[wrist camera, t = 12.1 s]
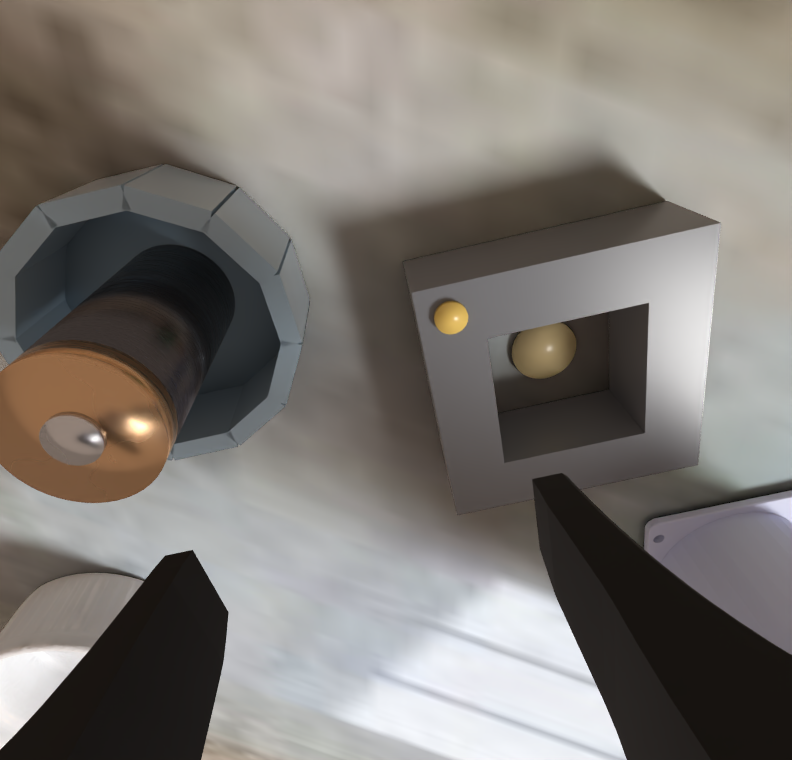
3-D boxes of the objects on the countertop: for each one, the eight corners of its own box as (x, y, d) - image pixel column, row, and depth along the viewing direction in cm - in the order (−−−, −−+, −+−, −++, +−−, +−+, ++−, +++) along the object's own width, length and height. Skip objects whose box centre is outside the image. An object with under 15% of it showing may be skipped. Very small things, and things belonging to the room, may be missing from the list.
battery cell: (250, 334, 19) (192, 489, 12) (150, 357, 19) (34, 523, 12) (211, 232, 17) (115, 344, 10) (101, 258, 17) (-70, 386, 10)
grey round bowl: (332, 373, 20) (330, 426, 17) (123, 419, 21) (84, 479, 18) (260, 140, 16) (240, 156, 13) (0, 202, 16) (-79, 232, 13)
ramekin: (-11, 648, 27) (-70, 743, 23) (43, 533, 23) (-16, 623, 19) (164, 694, 29) (137, 785, 26) (235, 598, 26) (216, 686, 22)
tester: (657, 419, 22) (701, 468, 20) (445, 464, 23) (458, 518, 20) (667, 200, 18) (725, 224, 15) (402, 261, 18) (412, 295, 16)
